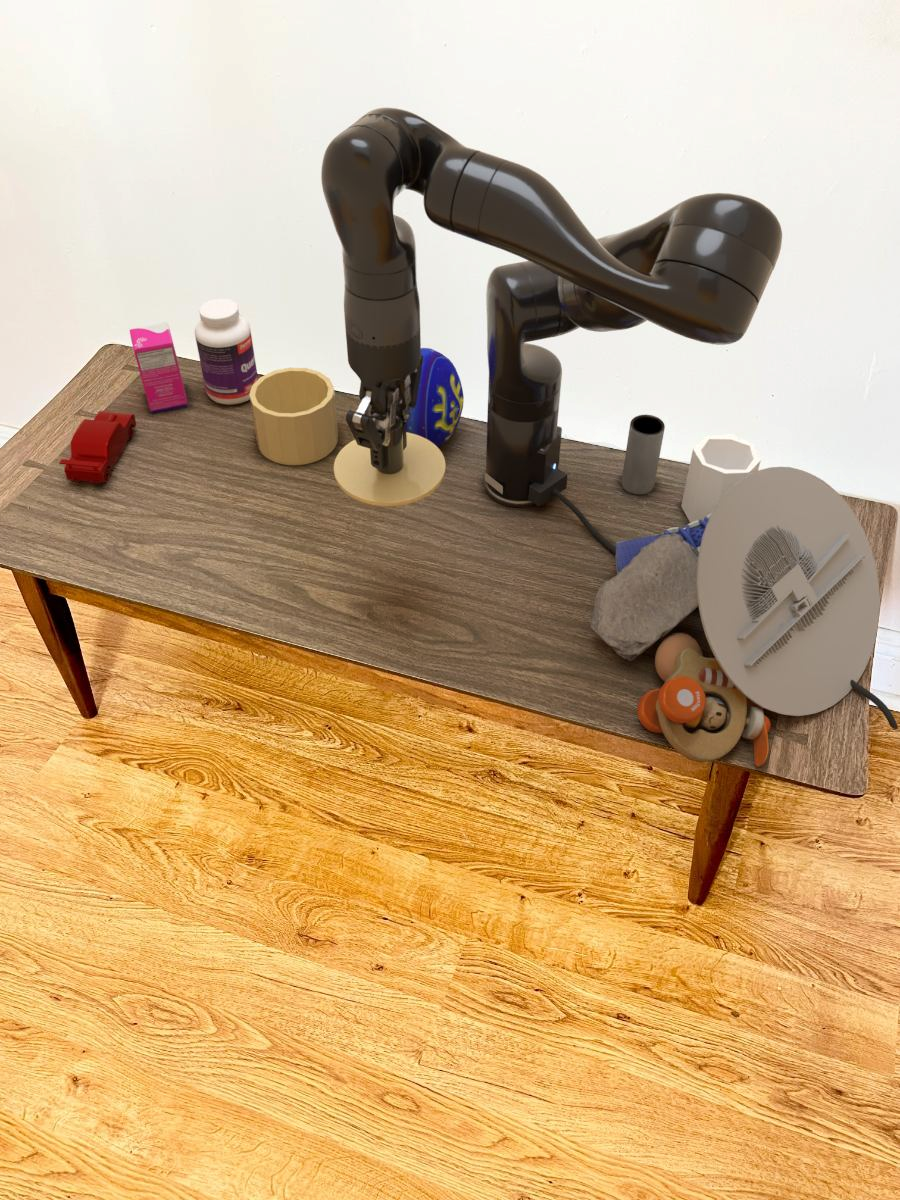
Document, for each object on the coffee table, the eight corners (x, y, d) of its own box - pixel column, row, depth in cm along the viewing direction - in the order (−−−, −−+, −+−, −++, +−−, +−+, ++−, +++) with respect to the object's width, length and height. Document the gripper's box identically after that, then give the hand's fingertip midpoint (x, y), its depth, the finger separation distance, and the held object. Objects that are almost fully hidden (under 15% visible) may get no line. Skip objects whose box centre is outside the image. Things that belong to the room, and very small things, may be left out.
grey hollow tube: (628, 497, 147) (638, 437, 139) (616, 477, 150) (625, 417, 142) (659, 491, 148) (670, 431, 140) (646, 471, 151) (656, 411, 143)
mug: (742, 537, 141) (758, 479, 134) (677, 525, 143) (689, 467, 136) (750, 480, 149) (765, 423, 142) (688, 469, 151) (700, 412, 144)
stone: (577, 618, 129) (637, 675, 126) (572, 610, 125) (635, 669, 122) (666, 528, 129) (728, 583, 126) (664, 517, 125) (729, 573, 122)
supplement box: (145, 393, 164) (128, 327, 156) (184, 386, 165) (169, 320, 157) (149, 414, 160) (132, 348, 152) (189, 407, 161) (175, 341, 153)
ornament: (435, 470, 151) (434, 381, 140) (380, 450, 154) (375, 361, 143) (473, 429, 158) (475, 340, 147) (419, 410, 161) (417, 322, 150)
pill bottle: (255, 408, 161) (242, 324, 151) (202, 407, 161) (185, 323, 151) (263, 377, 167) (251, 294, 156) (211, 376, 167) (196, 293, 156)
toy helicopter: (649, 708, 111) (755, 790, 111) (747, 564, 118) (846, 641, 118) (622, 723, 119) (721, 800, 118) (715, 587, 126) (809, 659, 126)
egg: (648, 691, 123) (652, 647, 128) (694, 702, 123) (697, 657, 127) (659, 661, 119) (663, 616, 124) (708, 672, 119) (710, 627, 123)
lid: (463, 456, 124) (464, 405, 118) (415, 523, 116) (414, 471, 110) (366, 428, 127) (363, 377, 122) (313, 491, 119) (307, 439, 114)
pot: (352, 428, 158) (348, 379, 152) (312, 474, 150) (306, 424, 144) (284, 408, 161) (277, 360, 155) (242, 452, 154) (233, 403, 148)
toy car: (105, 490, 148) (96, 461, 144) (66, 486, 148) (57, 458, 145) (139, 429, 158) (132, 401, 154) (102, 425, 158) (95, 398, 154)
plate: (773, 766, 117) (781, 766, 116) (655, 546, 111) (663, 544, 110) (909, 628, 129) (918, 628, 128) (809, 424, 124) (818, 422, 123)
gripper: (383, 368, 102) (390, 505, 114) (446, 296, 111) (446, 430, 123) (314, 349, 104) (329, 485, 116) (381, 280, 113) (388, 414, 125)
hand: (389, 456), depth 120 cm, fingers closed on lid, 3 cm apart
